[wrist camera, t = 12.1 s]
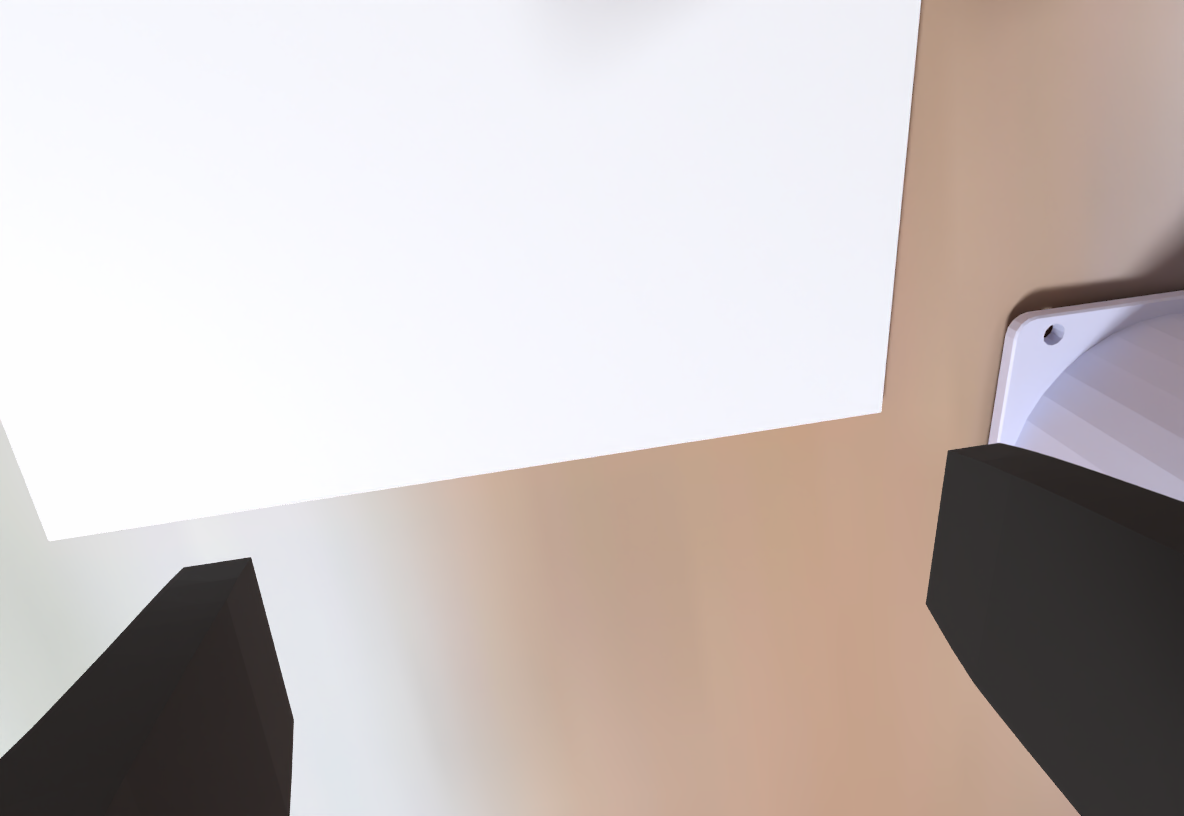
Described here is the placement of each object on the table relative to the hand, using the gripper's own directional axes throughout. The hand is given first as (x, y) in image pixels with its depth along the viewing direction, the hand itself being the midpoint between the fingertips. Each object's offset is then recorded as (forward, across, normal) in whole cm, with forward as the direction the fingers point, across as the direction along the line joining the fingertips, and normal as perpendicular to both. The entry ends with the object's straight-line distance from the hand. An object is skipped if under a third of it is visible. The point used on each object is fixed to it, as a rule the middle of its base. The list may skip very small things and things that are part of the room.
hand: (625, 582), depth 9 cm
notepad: (+10, +1, -2) cm, 10 cm away
